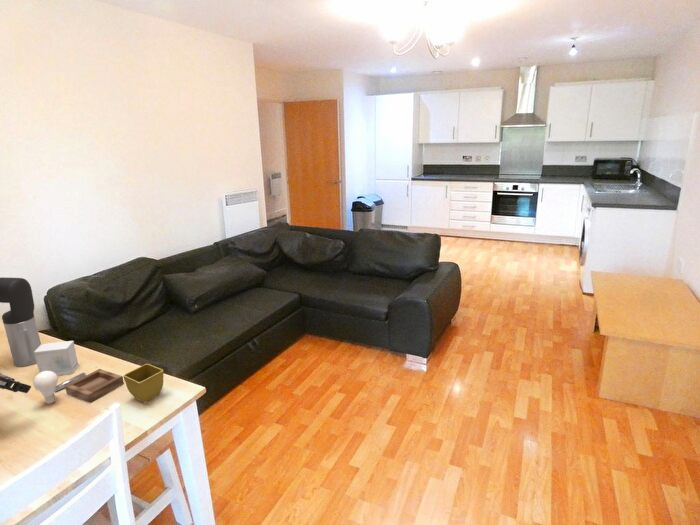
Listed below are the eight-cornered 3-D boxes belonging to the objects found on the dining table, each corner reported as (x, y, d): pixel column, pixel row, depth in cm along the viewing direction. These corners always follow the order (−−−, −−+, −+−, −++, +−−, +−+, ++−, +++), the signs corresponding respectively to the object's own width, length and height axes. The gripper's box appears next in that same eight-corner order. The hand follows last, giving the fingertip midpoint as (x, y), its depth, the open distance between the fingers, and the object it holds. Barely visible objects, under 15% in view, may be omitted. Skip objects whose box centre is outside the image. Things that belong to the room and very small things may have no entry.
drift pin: (56, 392, 139) (54, 388, 139) (52, 391, 140) (51, 386, 139) (87, 376, 149) (86, 372, 148) (84, 375, 149) (83, 371, 149)
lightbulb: (50, 409, 130) (42, 378, 127) (33, 407, 132) (25, 376, 129) (67, 397, 136) (60, 367, 133) (51, 395, 138) (44, 366, 134)
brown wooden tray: (66, 394, 138) (64, 386, 137) (101, 376, 149) (99, 368, 148) (90, 403, 133) (88, 394, 132) (123, 383, 144) (122, 376, 143)
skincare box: (39, 378, 148) (33, 351, 145) (47, 369, 154) (41, 343, 151) (72, 374, 150) (66, 347, 148) (79, 365, 156) (73, 339, 154)
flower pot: (168, 394, 138) (164, 369, 135) (143, 408, 130) (139, 382, 128) (151, 386, 142) (147, 363, 139) (126, 400, 135) (122, 375, 132)
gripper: (-60, 377, 113) (-1, 392, 127) (-33, 390, 108) (26, 404, 121) (-41, 351, 116) (15, 368, 130) (-13, 362, 111) (42, 379, 124)
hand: (20, 385), depth 125 cm, fingers open, 8 cm apart
